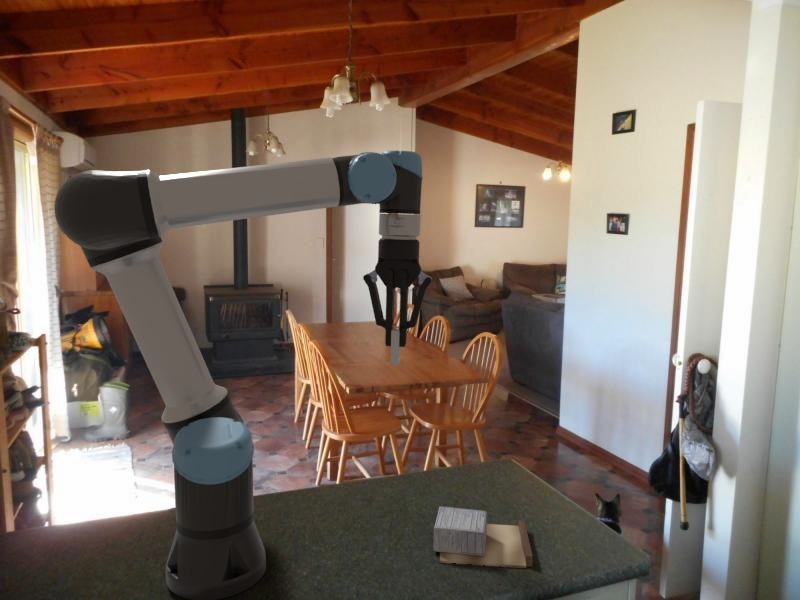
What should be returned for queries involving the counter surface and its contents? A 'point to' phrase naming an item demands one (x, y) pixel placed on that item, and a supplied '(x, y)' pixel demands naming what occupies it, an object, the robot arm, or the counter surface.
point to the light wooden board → (494, 549)
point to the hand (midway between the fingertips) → (395, 363)
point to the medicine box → (460, 531)
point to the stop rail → (525, 543)
